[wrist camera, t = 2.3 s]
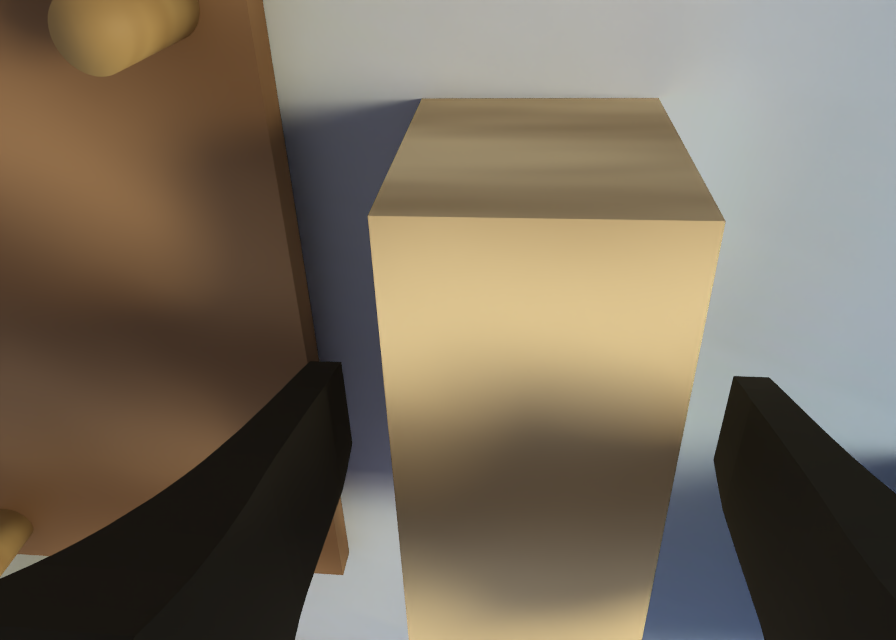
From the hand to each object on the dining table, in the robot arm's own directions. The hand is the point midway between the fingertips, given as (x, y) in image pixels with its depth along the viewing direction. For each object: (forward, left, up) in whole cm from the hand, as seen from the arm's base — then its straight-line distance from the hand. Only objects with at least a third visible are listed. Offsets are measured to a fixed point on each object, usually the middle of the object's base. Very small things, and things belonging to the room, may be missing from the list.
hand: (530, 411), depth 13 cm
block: (0, 0, -3) cm, 3 cm away
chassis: (0, +11, -3) cm, 11 cm away
